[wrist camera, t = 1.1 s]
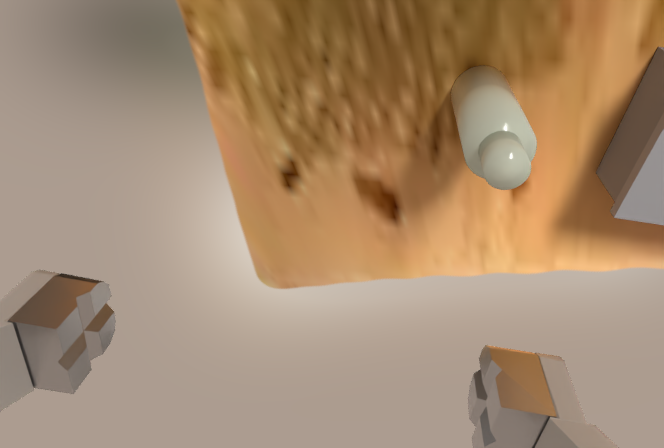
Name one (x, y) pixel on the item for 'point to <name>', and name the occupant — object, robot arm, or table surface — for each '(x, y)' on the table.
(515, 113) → the sage bottle
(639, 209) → the podium
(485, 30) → the table surface
